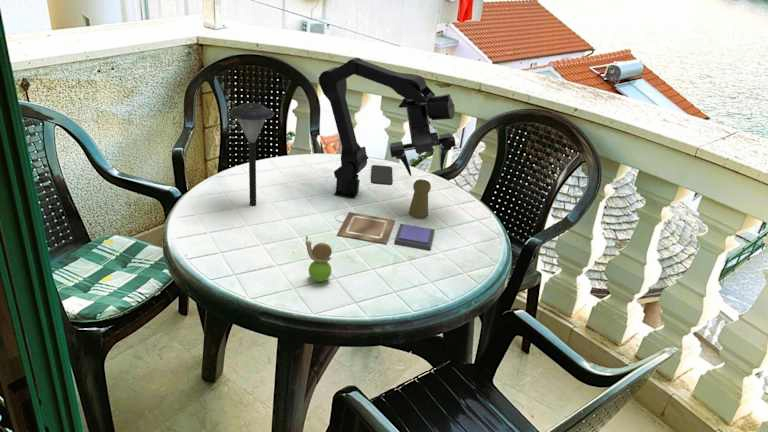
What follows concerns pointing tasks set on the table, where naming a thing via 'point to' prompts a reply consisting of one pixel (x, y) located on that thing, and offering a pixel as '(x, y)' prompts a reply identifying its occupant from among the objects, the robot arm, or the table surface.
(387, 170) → the phone
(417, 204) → the cork
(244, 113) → the solar garden light
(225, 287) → the table surface
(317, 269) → the snail figurine
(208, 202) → the table surface
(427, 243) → the ink pad
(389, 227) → the marked board
